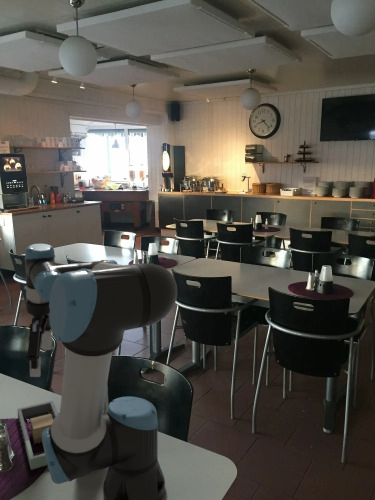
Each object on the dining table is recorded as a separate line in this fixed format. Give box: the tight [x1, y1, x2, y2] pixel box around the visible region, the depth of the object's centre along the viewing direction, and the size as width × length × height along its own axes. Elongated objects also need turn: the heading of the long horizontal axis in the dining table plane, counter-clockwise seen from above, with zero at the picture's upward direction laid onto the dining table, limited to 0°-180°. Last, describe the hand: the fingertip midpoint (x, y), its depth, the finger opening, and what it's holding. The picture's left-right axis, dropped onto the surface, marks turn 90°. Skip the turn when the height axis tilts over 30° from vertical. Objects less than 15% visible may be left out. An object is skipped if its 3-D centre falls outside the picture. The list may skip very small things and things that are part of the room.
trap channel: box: [17, 400, 59, 471], centre depth 127 cm, size 28×11×3 cm, turn 28°
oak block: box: [30, 413, 54, 445], centre depth 127 cm, size 6×6×5 cm
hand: (41, 362), depth 126 cm, fingers open, 13 cm apart
